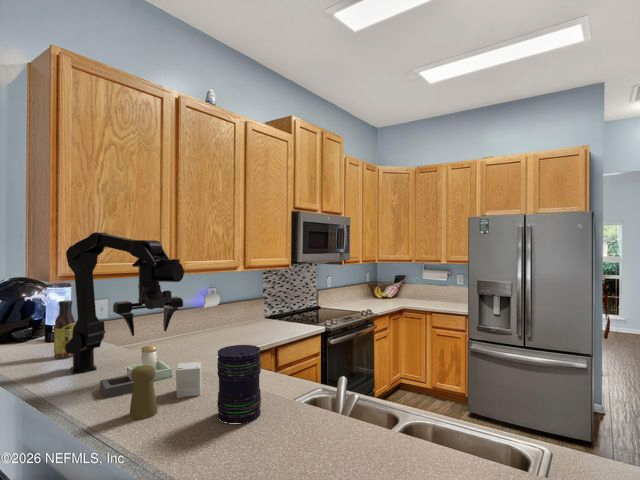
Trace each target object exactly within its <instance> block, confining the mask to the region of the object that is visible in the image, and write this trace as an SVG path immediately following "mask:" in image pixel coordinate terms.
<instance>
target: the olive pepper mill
mask: <svg viewBox="0 0 640 480" xmlns="http://www.w3.org/2000/svg"><path fill="white" fill-rule="evenodd" d="M154 377H155V369H154V367H153V366H150V365H143V366H139V367H136V368H134V369H133V371H132V373H131V379H132V381H133V382H134V384H133V391H132V393H131V399H130V400H131V401H130V408H129V413H128V414H129V415H128V417H129V419H131V420H135V421H137V420H138V421H141V420H146V419H150V418H152V417H154V416H156V415H157V414H158V406H157V398H156V391H155V386H154V381H153V379H154Z"/></svg>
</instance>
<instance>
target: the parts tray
mask: <svg viewBox="0 0 640 480" xmlns="http://www.w3.org/2000/svg"><path fill="white" fill-rule="evenodd" d="M139 366H142V363H139V364H132V365H129V366H126V375H130V374H131V373H132V371H133V369H134V368H136V367H139ZM156 369H157V371H155V377H154V379H153V382H156V381H160V380H165V379H169V378H172V377H173V368H172V367H171V366H170V365H168V364H166V363H165V361H163V360H161V359H160V360H156Z"/></svg>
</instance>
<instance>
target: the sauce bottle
mask: <svg viewBox="0 0 640 480" xmlns="http://www.w3.org/2000/svg"><path fill="white" fill-rule="evenodd" d="M72 305H73V300H71V299H69V300H66V299H65V300H60V301H58V307H59V310H58V314H59V315H57V317H56V318H55V321H54V334H53V335H54V339H53V340H54V342H53V353H54V358H55V359H59V360H60V359H68V358H73V354H72V353H66V350H65V345H66V344H67V343H68V342H69V341H70V340H71V338H72V337H73V328H74V326H75V324H76V321H75V318H74V315H73V311H72Z"/></svg>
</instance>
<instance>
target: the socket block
mask: <svg viewBox="0 0 640 480" xmlns="http://www.w3.org/2000/svg"><path fill="white" fill-rule="evenodd" d="M99 384H100V385H99V386H100V387H99V389H100V391H101V393H102V395H103V396H104V397H105V399H109V398H115V397H118V396H122V395H127V394H132V391H133V384H134V382H133V381H132V379H131V374H130V375H127V374H125V375H120V376H115V377H111V378H110V377H109V378H105V379H100V382H99Z"/></svg>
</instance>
